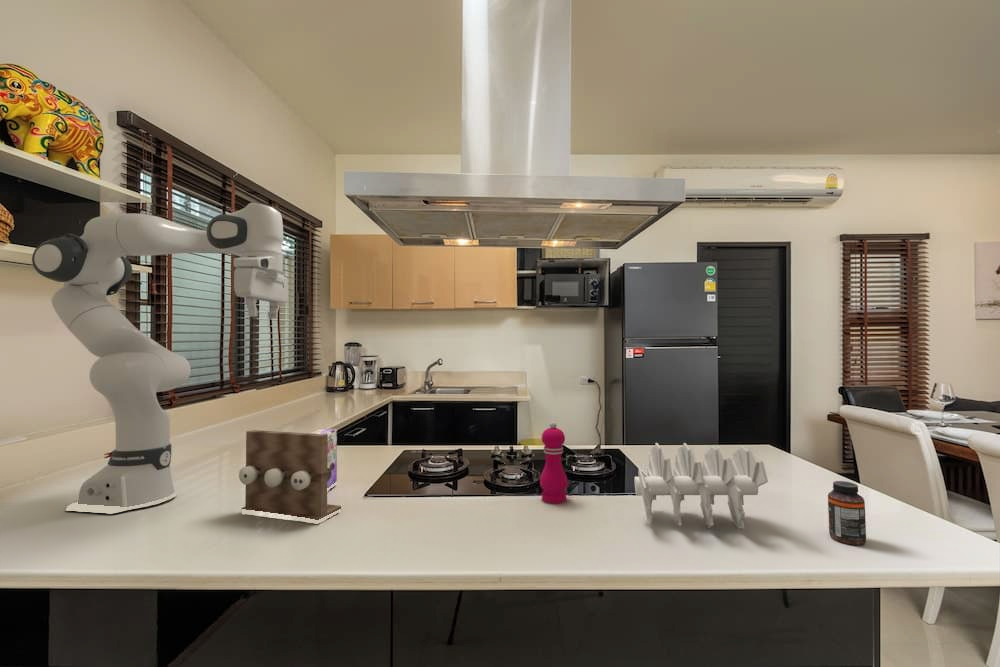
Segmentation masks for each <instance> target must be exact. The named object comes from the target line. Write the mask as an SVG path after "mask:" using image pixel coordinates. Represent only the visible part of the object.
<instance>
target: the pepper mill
mask: <svg viewBox="0 0 1000 667" xmlns="http://www.w3.org/2000/svg"><path fill="white" fill-rule="evenodd" d="M565 440H566V436H565V433H564V432H563V430H561V429H560V428H558V427H557V423H556V422H555V421H551V422H550V423H549V427H548V428H546V429H545V430H543V432H542V434H541V441H542V443H543V445H544V446H543V453H544V454H545V464H544V468H543V470H542V471H541V473H540V474H541V475H540V478H539V485H540V487H541V489H542V492H541V500H542V501H543V502H544V503H548V504H562V503H565V502H566V501H567V493H566V492H565V490H566V489H567V488H568V485H569V482H568V477H567V474H566V471H565V470H564V467H563V464H562V454H563V453H564V450H563V449H564V447H563V444H564V443H565Z"/></svg>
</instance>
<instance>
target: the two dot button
mask: <svg viewBox="0 0 1000 667" xmlns="http://www.w3.org/2000/svg"><path fill="white" fill-rule="evenodd" d="M311 479H312V473H310V474H308V472H306V471H304V470H301V471H298V472H296V473H294V474H293V475H292V477H291V484H292V486H293V488H294V489H296V490H302V489H304V488H307V487H308V486H309V484H310V480H311Z"/></svg>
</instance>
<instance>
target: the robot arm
mask: <svg viewBox="0 0 1000 667" xmlns="http://www.w3.org/2000/svg"><path fill="white" fill-rule="evenodd" d="M83 230H84V231H83V234H82V235H81V236H79V235H76V234H73V233H65V234H64V235H61V236H60V237H56V238H52V239H48V240H45V241H43V242H42V243H40V244H39V245H38V246H36V248H35V249H34V251H33V253H32V258H31V262H32V263H31V264H32V267H33V269H34V271H36V273H38V274H39V275H41V276H42V277H44V278H46V279H49V280H52V281H54V282H58V283H59V282H60V283H64V285H63V287H60V288H59V289H57V290H56V291H55V292H54V294H52V297H51V306H52V307H53V310H54V311H55V313H56V315H57V317H58V318H59V320H61V322H62V323H63V325H64V326H65V327H66V329H67V330H69V332H70V333H71V334H72V335H73V336H74V337H75V338H76V339H77V341H79V342H80V343H81V345H83V346H84V347H85V349H87V350H88V351H89V352H90V354H92V355H93V356H95V357H98V358H97V360H95V361H94V363H93V364H92V366H91V368H90V371H89V381H90V384H91V386H92V387H93V389H94V390H96V391H97V392H98V393H99V394H101V395H102V396H103V397H104V398H105V399H106V400H107V402H108V404H109V406H110V408H111V410H112V414H113V417H114V421H115V422H114V423H115V426H114V427H115V448H114V450H112V451H111V452H107V453H104V454H103V455H104V457H103V459H107V458H109V459H108V462H107V465H106V466H104V467H102V468H101V469H100V470H99V471H98V472H96V473H94V474H93V475H92V476H90V477H89V478H87V479H86V480H85V481H84V482H83V483H82V485H81V486H80V489H79V492H78V499H77V500H78V504H87V505H104V506H120V507H129V506H135V505H140V504H145V503H148V502H152V501H156V500H159V499H163V498H165V497H168V496H170V495H172V494H173V493H174V492H175V488H174V484H173V480H172V475H171V474H172V472H171V461H172V444H171V443H170V439H171V438H170V437H171V436H170V434H171V432H170V431H171V430H170V429H171V417H170V415H169V413H168V412H167V411H166V410H165V409H164V408H162V406H161V405H160V403H159V400H158V397H157V393H161V392H168V391H171V390H174V389H175V388H179V387H181V386H182V385H184V384H186V382H187V381H188V380H189V378H190V375H191V369H192V368H191V364H190V363H189V360H187V359H186V357H185V356H183V355H180V354H178V353H175V352H173V351H171V350H170V349H168V348H166V347H164V346H163V345H161V344H160V343H158V342H157V341H155V340H154V339H153V338H151V337H149V336H148V335H146V334H145V333H143V332H142V331H141V330H140V329H138V328H137V327H136V326H135V325H134V324H133V323H132V322H131V321H130V320H129V319H128V318H127V317H126V316H125V315H124V314H123V313H122V312H121V311H120V310H119V309H118V308H117V307H116V306H115V305H114V304H113V303H112V302H111V301H110V299H108V296H112V295H115V294H117V293H118V291H119V290H120V289H122V287H125V285H126V284H127V283H128V282H129V281H130V279H131V277H132V274H133V266H132V264H131V261H129V260H128V258H126V256H127V257H128V256H129V257H132V256H133V257H135V256H136V257H148V256H163V255H165V256H166V255H176V254H193V253H195V254H197V253H198V254H225V255H226V254H227V255H235V256H238V257H235V258H233V267H235V269H234V272H233V290H234V293H235V295H236V296H237V297H240V298H245V299H244V300H245V305H246V307H247V310H248V313H247V316H248V317H251V318H252V317H253V318H254V317H255V318H256V317H259V309H258V308H257V304H256V303H258V301H263V302H269V306H270V308H269V311H268V312H267V318H268V319H273V320H274V319H275V320H276V319H277V318H278V312H279V310H280V307H281V304H287V303H288V300H289V288H288V286H289V285H288V280H287V278H286V277H285V275H284V273H283V271H284V268H283V267H284V265H283V264H284V254H283V249H282V245H283V242H284V223H283V216H282V214H281V212H280V211H279V210H278V209H276V208H275V206H272V205H269V204H266V203H262V202H257V201H256V202H254V201H253V202H249V203H248V204H247V205H246V206H245V207H243V208H242V209H240V210H236V211H234V212H231V213H225V214H222V213H221V214H219V215H215V216H214V217H213V218H212V219H211V220H209V222H208V224H207V227H206V230H204V229H203V230H201V229H197V228H192V227H189V226H186V225H183V224H181V223H176V222H174V221H172V220H168V219H166V218H163V217H160V216H156V215H152V214H147V213H146V214H145V213H135V212H134V213H132V212H131V213H113V214H106V215H105V214H104V215H100V216H96V217H94V218H91V219H89V220H88V221H87V222H86V224H85V226H84V228H83ZM175 493H176V492H175Z"/></svg>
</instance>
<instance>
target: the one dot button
mask: <svg viewBox="0 0 1000 667" xmlns="http://www.w3.org/2000/svg"><path fill="white" fill-rule="evenodd" d="M259 474H261V468H260V469H257V470H256V468H255V467H254V466H247V467H246V466H244V467H242V468H241V469H240V470H239V472H238V478H239V481H240V482H241V484H243V485H245V486H246V485H247V484H250V483H253V482H255V481H256V479H257V476H258V475H259Z"/></svg>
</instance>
